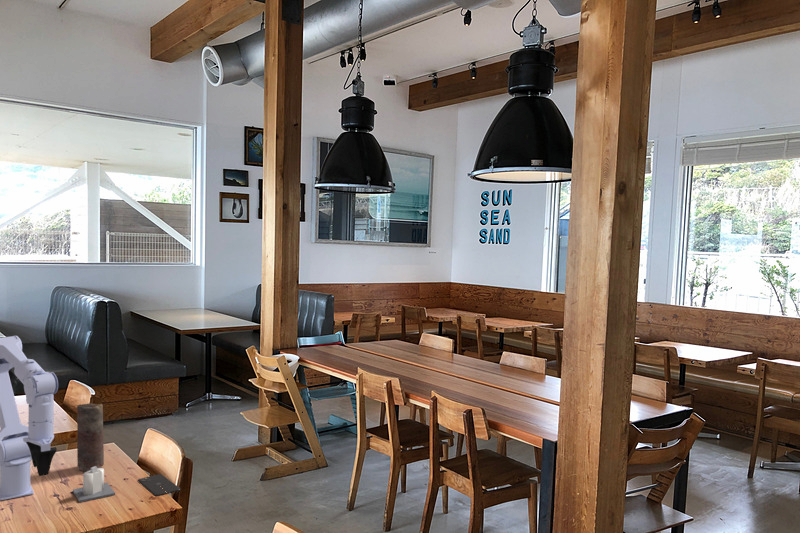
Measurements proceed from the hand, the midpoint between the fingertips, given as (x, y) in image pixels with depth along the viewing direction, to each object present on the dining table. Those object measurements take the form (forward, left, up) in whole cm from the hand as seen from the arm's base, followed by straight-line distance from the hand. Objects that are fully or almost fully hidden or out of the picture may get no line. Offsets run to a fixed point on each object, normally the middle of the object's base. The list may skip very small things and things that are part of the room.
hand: (40, 470), depth 165 cm
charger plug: (-2, +13, -9) cm, 16 cm away
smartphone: (+2, +30, -10) cm, 32 cm away
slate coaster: (-2, +13, -10) cm, 17 cm away
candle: (-23, +17, -10) cm, 30 cm away
